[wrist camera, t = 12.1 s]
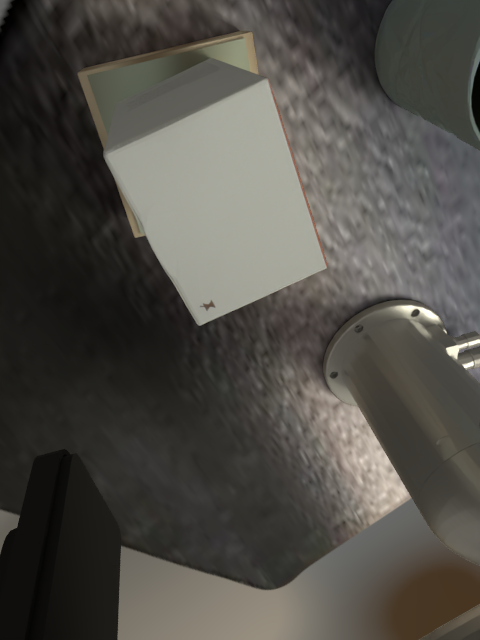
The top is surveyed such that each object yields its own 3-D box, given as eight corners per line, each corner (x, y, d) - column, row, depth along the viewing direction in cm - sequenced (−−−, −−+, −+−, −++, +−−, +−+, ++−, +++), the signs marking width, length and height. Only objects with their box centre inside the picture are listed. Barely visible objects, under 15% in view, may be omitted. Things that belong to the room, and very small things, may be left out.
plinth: (240, 30, 28) (252, 31, 25) (265, 186, 34) (278, 202, 31) (83, 68, 28) (76, 73, 25) (134, 219, 34) (134, 239, 31)
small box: (261, 183, 30) (331, 271, 19) (174, 223, 30) (196, 332, 20) (213, 52, 26) (270, 72, 15) (111, 101, 26) (95, 155, 15)
